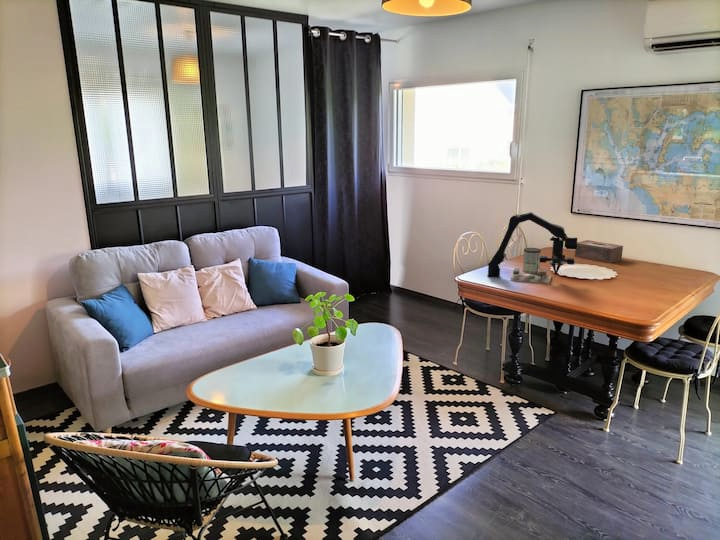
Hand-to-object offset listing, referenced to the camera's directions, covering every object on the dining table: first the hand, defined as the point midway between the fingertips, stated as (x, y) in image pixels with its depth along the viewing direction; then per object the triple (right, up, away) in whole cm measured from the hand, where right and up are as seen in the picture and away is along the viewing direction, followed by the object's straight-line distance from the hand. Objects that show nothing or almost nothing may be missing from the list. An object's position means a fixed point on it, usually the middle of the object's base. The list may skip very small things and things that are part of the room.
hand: (555, 274), depth 302 cm
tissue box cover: (+49, +10, +54) cm, 74 cm away
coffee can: (-6, +2, +24) cm, 25 cm away
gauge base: (-12, -3, +7) cm, 14 cm away
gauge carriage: (-9, -2, +3) cm, 10 cm away
